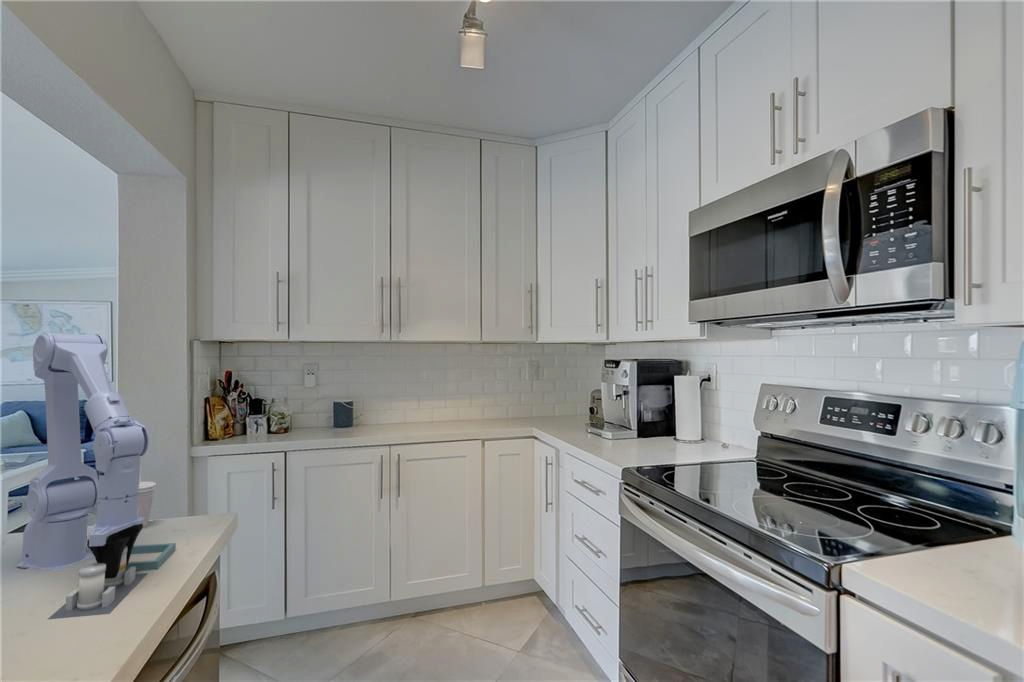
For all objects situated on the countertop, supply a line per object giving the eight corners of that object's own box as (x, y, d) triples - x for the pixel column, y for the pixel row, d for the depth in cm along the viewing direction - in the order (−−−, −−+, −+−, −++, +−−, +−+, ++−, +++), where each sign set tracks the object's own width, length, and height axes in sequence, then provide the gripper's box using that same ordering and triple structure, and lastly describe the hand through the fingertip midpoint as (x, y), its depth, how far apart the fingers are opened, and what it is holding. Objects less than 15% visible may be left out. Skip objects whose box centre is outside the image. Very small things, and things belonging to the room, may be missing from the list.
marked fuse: (96, 586, 89) (98, 551, 89) (114, 578, 92) (116, 544, 92) (112, 588, 88) (114, 553, 88) (130, 580, 92) (132, 546, 92)
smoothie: (149, 520, 124) (152, 461, 124) (158, 526, 120) (161, 466, 120) (116, 526, 119) (119, 465, 119) (124, 533, 115) (128, 470, 115)
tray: (157, 572, 96) (157, 561, 97) (94, 576, 94) (94, 565, 94) (175, 552, 106) (175, 542, 106) (118, 556, 103) (118, 546, 103)
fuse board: (109, 617, 80) (110, 599, 80) (47, 623, 78) (48, 604, 78) (147, 576, 95) (148, 560, 95) (96, 580, 93) (97, 564, 93)
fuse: (71, 608, 81) (73, 570, 82) (92, 599, 85) (94, 562, 85) (88, 611, 81) (90, 572, 81) (109, 601, 84) (111, 564, 84)
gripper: (126, 506, 85) (122, 589, 84) (160, 483, 99) (156, 555, 98) (75, 508, 83) (70, 593, 83) (117, 484, 97) (113, 557, 96)
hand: (114, 572), depth 90 cm, fingers closed on marked fuse, 3 cm apart
